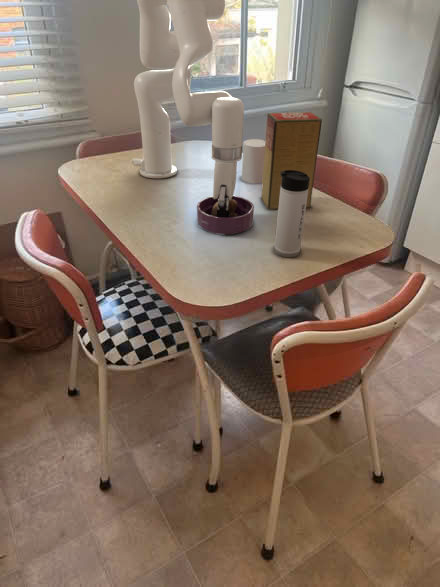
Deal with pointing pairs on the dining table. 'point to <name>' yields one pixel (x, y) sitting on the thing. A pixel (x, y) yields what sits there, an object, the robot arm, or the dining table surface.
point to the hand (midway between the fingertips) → (225, 215)
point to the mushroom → (232, 207)
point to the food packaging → (289, 151)
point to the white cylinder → (253, 161)
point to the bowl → (225, 224)
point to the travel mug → (291, 212)
